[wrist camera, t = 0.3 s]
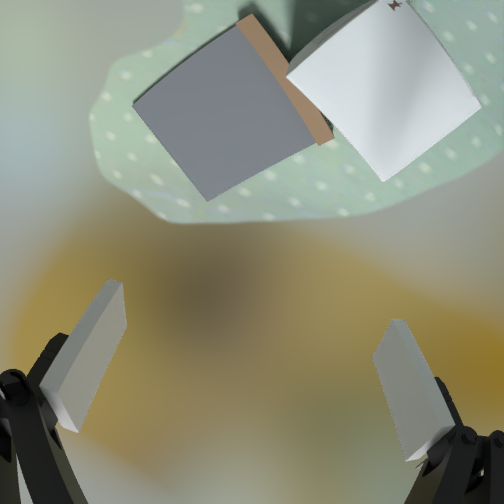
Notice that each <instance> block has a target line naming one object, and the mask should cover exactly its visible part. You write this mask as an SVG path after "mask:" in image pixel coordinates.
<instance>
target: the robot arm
mask: <svg viewBox="0 0 504 504" xmlns="http://www.w3.org/2000/svg"><path fill="white" fill-rule="evenodd" d="M126 327H127V323H126V315H125V305H124V295H123V283H122V282H119V281H114V280H110V279H108V280H107V281H106V283H105V284H104V285H103V287H102V288H101V290H100V291H99V293H98V294H97V295H96V297H95V298H94V300H93V301H92V302H91V304H90V305H89V307H88V308H87V310H86V311H85V313H84V314H83V316H82V317H81V319H80V320H79V322H78V323H77V325H76V326H75V328H74V329H73V331H72V332H71V334H70V335H66V334H63V333H58V334H57V335H56V336H54V337H53V338H52V339H50V341H49V342H48V344H47V345H46V347H45V350H43V352H42V353H41V354H40V357H39V358H38V359H37V361H36V362H35V364H34V365H33V367H32V368H31V370H30V372H29V374H28V375H27V377H26V376H25V374H24V373H23V372H22V371H20V370H17V369H9V370H6V371H4V372H3V373H1V374H0V504H21V501H20V500H21V499H20V492H19V483H18V472H17V458H16V453H17V457H18V460H19V464H20V467H21V470H22V473H23V477H24V479H25V483H26V485H27V488H28V491H29V494H30V496H31V499H32V501H33V504H88V502H87V500H86V498H85V496H84V494H83V492H82V490H81V488H80V486H79V484H78V482H77V479H76V477H75V475H74V473H73V471H72V468H71V466H70V464H69V461H68V459H67V456H66V454H65V451H64V449H63V446H62V443H61V441H60V438H59V435H58V432H57V430H56V428H55V425H56V423H57V421H58V420H59V422H60V424H61V425H62V427H64V428H67V429H69V430H72V431H75V432H77V433H79V432H80V429H81V427H82V424H83V422H84V419H85V417H86V414H87V412H88V410H89V407H90V405H91V402H92V400H93V398H94V396H95V393H96V391H97V389H98V387H99V384H100V382H101V380H102V378H103V375H104V373H105V371H106V369H107V367H108V365H109V362H110V360H111V358H112V356H113V354H114V352H115V349H116V347H117V346H118V343H119V341H120V339H121V337H122V335H123V333H124V331H125V329H126ZM372 358H373V361H374V364H375V367H376V370H377V372H378V376H379V378H380V381H381V384H382V387H383V390H384V393H385V396H386V399H387V402H388V405H389V408H390V412H391V415H392V418H393V421H394V425H395V427H396V431H397V434H398V438H399V441H400V445H401V448H402V452H403V455H404V459H405V461H409V460H415V459H419V458H420V457H421V456H423V455H424V454H425V453H426V452H427V455H428V458H426V459H425V460H424V461H423V462H422V463H421V464H419V465H418V466H417V467H416V468H415V469H416V470H418V469H419V468H420V467H421V466H422V468H421V470H420V472H419V475H418V477H417V479H416V481H415V483H414V485H413V487H412V489H411V491H410V493H409V495H408V497H407V499H406V501H405V503H404V504H504V432H502V431H499V430H496V431H494V432H492V433H491V434H490V435H489V436H488V437H486V436H478V435H477V433H476V432H475V430H473V429H472V428H471V427H468V426H464V425H463V423H462V420H461V418H460V416H459V414H458V411H457V409H456V407H455V405H454V403H453V402H452V398H451V396H450V395H449V392H448V390H447V388H446V386H445V384H444V383H443V382H442V381H441V380H440V378H439V377H434V376H433V374H432V372H431V370H430V368H429V366H428V364H427V362H426V360H425V358H424V356H423V354H422V353H421V350H420V348H419V346H418V344H417V343H416V341H415V339H414V337H413V335H412V333H411V332H410V329H409V327H408V326H407V324H406V322H405V320H399V319H392V320H391V323H390V324H389V326H388V328H387V330H386V333H385V334H384V336H383V338H382V340H381V342H380V344H379V346H378V348H377V350H376V351H375V353H374V355H373V356H372ZM482 470H484V475H483V476H481V471H482Z"/></svg>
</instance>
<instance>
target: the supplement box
mask: <svg viewBox="0 0 504 504" xmlns="http://www.w3.org/2000/svg"><path fill="white" fill-rule="evenodd" d="M286 78H287V79H288V80H289V81H290V82H291V83H292V84H294V85H295V86H296V87H297V88H298V89H299V90H300V91H301V92H302V93H303V94H304V95H305V96H306V97H307V98H308V99H309V100H310V101H311V102H312V103H313V104H314V105H315V106H316V107H317V108H318V109H319V110H320V111H321V112H322V113H323V114H324V115H325V116H326V117H327V118H328V120H329V121H330V122H331V123H332V124H333V125H334V126H335V127H336V128H337V129H338V130H339V131H340V132H341V133H342V135H343V136H344V137H345V138H346V139H347V140H348V141H349V142H350V143H351V145H352V146H353V147H354V148H355V149H356V150H357V151H358V153H359V154H360V155H361V156H362V157H363V158H364V160H365V161H366V162H367V163H368V164H369V165H370V167H371V168H372V169H373V170H374V172H375V173H376V174H377V175H378V177H379V178H380V179H381V181H382V182H385V181H386V180H388V179H389V178H390V177H392V176H393V175H395V174H396V173H397V172H399V171H400V170H401V169H403V168H404V167H405V166H407V165H408V164H409V163H411V162H412V161H413V160H414V159H416V158H417V157H418V156H420V155H421V154H422V153H423V152H425V151H426V150H427V149H429V148H430V147H431V146H433V145H434V144H435V143H437V142H438V141H439V140H440V139H442V138H443V137H444V136H446V135H447V134H448V133H450V132H451V131H452V130H454V129H455V128H456V127H457V126H459V125H460V124H461V123H462V122H464V121H465V120H466V119H467V118H469V117H470V116H471V115H472V114H474V113H475V112H476V111H478V110H479V109H480V108H481V107H482V106H481V104H480V102H479V100H478V99H477V97H476V95H475V94H474V92H473V90H472V89H471V87H470V85H469V84H468V82H467V81H466V79H465V77H464V76H463V74H462V73H461V71H460V70H459V68H458V67H457V65H456V64H455V62H454V61H453V59H452V58H451V56H450V55H449V54H448V52H447V51H446V49H445V48H444V46H443V45H442V44H441V42H440V41H439V40H438V38H437V37H436V35H435V34H434V33H433V31H432V30H431V29H430V27H429V26H428V25H427V23H426V22H425V21H424V20H423V18H422V17H421V16H420V15H419V13H418V12H417V11H416V10H415V8H414V7H413V6H412V5H411V4H410V2H409V1H408V0H371V1H369V2H367V3H365V4H363V5H361V6H360V7H358V8H356V9H354V10H353V11H351V12H349V13H347V14H345V15H344V16H342V17H341V18H340V19H338V20H337V21H335V22H334V23H333V24H331V25H330V26H329V27H327V28H326V29H325V30H324V31H322V32H321V33H320V34H319V35H317V36H316V37H315V38H314V39H313V40H312V41H310V42H309V43H308V44H307V45H306V46H305V47H304V48H303V49H302V50H301V51H300V52H298V53H297V54H296V55H295V57H294V58H293V59H292V60H291V61H290V64H289V67H288V70H287V73H286Z"/></svg>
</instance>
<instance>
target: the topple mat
mask: <svg viewBox="0 0 504 504" xmlns="http://www.w3.org/2000/svg"><path fill="white" fill-rule="evenodd" d="M235 24H236V26H235V27H233V28H232V29H230V30H229V31H227V32H225V33H224V34H222V35H221V36H219V37H218V38H216V39H215V40H214V41H212V42H211V43H209V44H208V45H206V46H205V47H204V48H202V49H201V50H199V51H198V52H197V53H195V54H194V55H192V56H191V57H190V58H188V59H187V60H186V61H185V62H183V63H182V64H181V65H179V66H178V67H177V68H175V69H174V70H173V71H172V72H170V73H169V74H168V75H167V76H166V77H164V78H163V79H162V80H161V81H159V82H158V83H157V84H156V85H155V86H154V87H152V88H151V89H150V90H149V91H148V92H147V93H146V94H144V95H143V96H142V97H141V98H140V99H139V100H138V101H137V102H136V103H134V104H133V105H132V107H133V108H134V110H135V111H136V112H137V113H138V115H139V116H140V117H141V119H142V120H143V121H144V122H145V124H146V125H147V126H148V127H149V129H150V130H151V131H152V132H153V134H154V135H155V136H156V138H157V139H158V140H159V141H160V143H161V144H162V145H163V146H164V148H165V149H166V150H167V152H168V153H169V154H170V155H171V157H172V158H173V159H174V160H175V162H176V163H177V164H178V165H179V167H180V168H181V169H182V170H183V172H184V173H185V174H186V176H187V177H188V178H189V179H190V181H191V182H192V183H193V184H194V186H195V187H196V188H197V189H198V191H199V192H200V193H201V195H202V196H203V197H204V198H205V200H206V201H207V202H208V201H209V200H211V199H213V198H215V197H216V196H218V195H220V194H221V193H223V192H225V191H227V190H229V189H230V188H232V187H234V186H236V185H237V184H239V183H241V182H243V181H245V180H246V179H248V178H250V177H252V176H254V175H255V174H257V173H259V172H261V171H263V170H265V169H266V168H268V167H270V166H272V165H274V164H276V163H278V162H280V161H281V160H283V159H285V158H287V157H289V156H291V155H293V154H295V153H297V152H299V151H301V150H303V149H305V148H307V147H309V146H311V145H313V144H315V143H317V144H318V146H319V145H321V144H323V143H325V142H327V141H329V140H332V139H334V135H333V132H332V131H331V129H330V127H329V125H328V124H327V122H326V120H325V118H324V117H323V115H322V113H321V112H320V110H319V109H318V108H317V107H316V106H315V105H314V104H313V103H312V102H311V101H310V100H309V99H308V98H307V97H306V96H305V95H304V94H303V93H302V92H301V91H300V90H299V89H298V88H297V87H296V86H295V85H294V84H292V83H291V82H290V81H289V80H288V79H287V78H286V73H287V70H288V67H289V64H290V63H289V62H288V60H287V59H286V57H285V56H284V54H283V53H282V52H281V50H280V49H279V47H278V46H277V45H276V43H275V42H274V40H273V39H272V38H271V36H270V35H269V34H268V32H267V31H266V30H265V28H264V27H263V26H262V24H261V23H260V22H259V20H258V19H257V18H256V17H255V15H253V14H250V15H248V16H247V17H245V18H243V19H242V20H240V21H238V22H237V23H235Z"/></svg>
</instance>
